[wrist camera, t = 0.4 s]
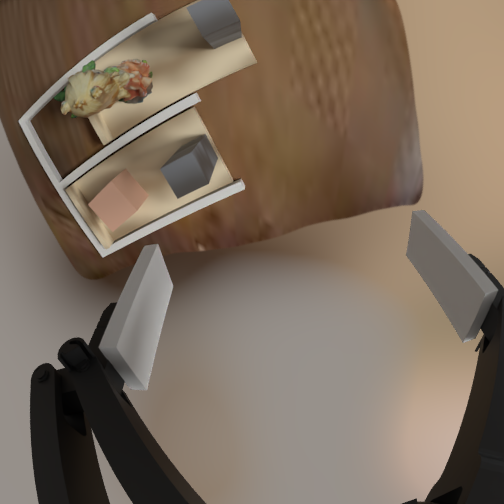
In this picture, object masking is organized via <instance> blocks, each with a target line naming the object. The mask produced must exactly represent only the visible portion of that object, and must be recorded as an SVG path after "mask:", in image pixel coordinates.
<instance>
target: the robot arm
mask: <svg viewBox="0 0 504 504" xmlns="http://www.w3.org/2000/svg"><path fill="white" fill-rule="evenodd" d="M406 256H407V257H408V258H409V260H410V261H411V263H412V264H413V265H414V267H415V268H416V270H417V271H418V272H419V274H420V275H421V277H422V278H423V280H424V281H425V282H426V284H427V286H428V287H429V289H430V290H431V291H432V293H433V295H434V296H435V298H436V299H437V301H438V302H439V304H440V306H441V307H442V309H443V310H444V312H445V313H446V315H447V317H448V318H449V320H450V322H451V323H452V325H453V327H454V328H455V330H456V332H457V333H458V335H459V337H460V338H461V340H462V342H463V343H464V342H467V341H469V340H472V339H475V338H476V336H477V334H478V332H479V330H480V329H481V330H482V331H483V333H484V335H483V337H482V339H481V340H480V342H479V344H478V346H477V348H476V350H475V351H476V352H477V351H478V349H479V348H480V351H479V356H478V361H477V366H476V371H475V376H474V380H473V385H472V389H471V393H470V396H469V400H468V404H467V407H466V411H465V414H464V417H463V421H462V424H461V427H460V430H459V433H458V436H457V439H456V441H455V444H454V447H453V449H452V452H451V455H450V457H449V460H448V462H447V464H446V467H445V469H444V471H443V473H442V475H441V477H440V479H439V480H438V482H437V483H436V484H435V485H434V486H433V488H432V489H431V491H430V492H429V494H428V496H427V498H426V500H425V502H417V499H414V500H411V501H408V502H405V503H402V504H504V288H503V287H502V285H501V284H500V283H499V282H498V280H497V279H496V278H495V277H494V276H493V275H492V273H490V271H489V270H488V269H487V268H485V266H484V264H483V263H482V262H481V261H480V260H479V259H478V258H476V257H475V256H473V255H472V254H467V253H466V252H465V251H464V250H463V248H462V247H461V246H460V245H459V244H458V243H457V242H456V241H455V240H454V239H453V238H452V237H451V236H450V235H449V234H448V233H447V232H446V231H445V230H444V229H443V228H442V227H441V226H440V225H439V224H438V223H437V222H436V221H435V220H434V219H433V218H432V217H431V216H430V215H429V214H428V213H427V212H426V211H425V210H421V211H413V212H412V219H411V227H410V234H409V241H408V248H407V253H406ZM172 289H173V284H172V281H171V279H170V276H169V273H168V271H167V268H166V265H165V263H164V260H163V257H162V254H161V251H160V248H159V245H158V244H154V245H147V246H144V248H143V250H142V252H141V254H140V256H139V258H138V260H137V262H136V264H135V266H134V268H133V270H132V272H131V274H130V276H129V279H128V281H127V283H126V285H125V287H124V289H123V292H122V294H121V296H120V298H119V300H118V302H117V303H110V305H109V306H108V307H107V308H106V309H105V310H104V311H103V314H102V316H101V318H100V321H99V322H98V325H97V328H96V329H95V331H94V334H93V336H92V338H91V340H90V343H89V345H87V344H86V342H85V341H84V340H83V339H82V338H72V339H70V340H68V341H66V342H65V343H64V344H63V345H62V346H61V348H60V349H59V352H58V360H59V361H60V362H61V363H62V364H63V366H64V367H65V368H63V369H60V370H56V369H55V368H54V367H53V366H52V365H51V364H49V363H45V364H42V365H40V366H38V367H37V368H36V369H35V371H34V372H33V374H32V378H31V393H30V427H31V428H30V429H31V447H32V459H33V469H34V477H35V484H36V490H37V496H38V502H39V504H110V502H109V499H108V496H107V493H106V489H105V486H104V482H103V479H102V475H101V472H100V468H99V463H98V459H97V455H96V450H95V445H94V441H93V436H92V430H93V433H94V434H95V437H96V439H97V441H98V443H99V445H100V447H101V449H102V451H103V453H104V455H105V457H106V459H107V460H108V462H109V464H110V466H111V468H112V470H113V472H114V473H115V475H116V477H117V479H118V480H119V482H120V483H121V485H122V487H123V488H124V490H125V492H126V493H127V495H128V497H129V498H130V500H131V501H132V503H133V504H206V503H205V502H204V501H203V500H202V499H201V497H200V496H199V495H198V494H197V493H196V492H195V491H194V489H193V488H192V487H191V486H190V485H189V483H188V482H187V481H186V480H185V479H184V477H183V476H182V475H181V474H180V473H179V471H178V470H177V469H176V467H175V466H174V465H173V463H172V462H171V461H170V459H168V457H167V455H166V454H165V453H164V451H163V450H162V449H161V447H160V446H159V444H158V443H157V442H156V440H155V439H154V437H153V436H152V434H151V433H150V432H149V430H148V428H147V427H146V425H145V424H144V422H143V421H142V419H141V418H140V416H139V415H138V413H137V412H136V410H135V408H134V407H133V405H132V403H131V402H130V400H129V399H128V397H127V395H126V393H125V392H124V391H123V390H122V389H123V386H124V382H125V383H126V384H127V386H128V387H129V388H130V389H131V390H147V388H148V383H149V378H150V374H151V370H152V366H153V362H154V357H155V353H156V349H157V345H158V341H159V337H160V333H161V330H162V326H163V322H164V318H165V314H166V311H167V307H168V303H169V300H170V296H171V292H172ZM91 428H92V430H91Z"/></svg>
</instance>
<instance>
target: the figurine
mask: <svg viewBox="0 0 504 504" xmlns="http://www.w3.org/2000/svg"><path fill="white" fill-rule="evenodd" d="M95 67H96V64H95V61H93V60H92V61H90V62H89V63H88V64H87V65H84V66H83V67H82V71H81V72H77V73H75V75H73V76H72V77H70V78H69V83H68V84H67V86H66V87H64V91H60V93H58V94H57V95H56V96H54V97H53V98H54V99H55V100H57V101H60V102H62V101H63V102H62V104H61V111H62V114H64V115H66V114H67V112H71V113H72V115H71V118H76V117H77V116H78V117H83V118H87V117H90V116H92V115H94V114H97V113H99V112H101V111H102V110H104V109H109V108H111V107H112V106H113V105H114V104H115V103H116V102H117V101H119V102H124V103H127V104H131V103H132V104H137V103H141V102H143V99H144V98H145V97H147V96H148V95H149V94H151V93H152V91H151V90H152V88H153V84H152V75H153V73H152V71H151V72H150V73H149V70H150V66H149V65H148V64H147V61H146V60H142V62H140V60H139V59H131V60H125V61H123V62H122V63H121V64H119V65H118V66H109V67H107V68H106V69H105V70H104V71H101V70H95ZM64 100H65V101H64Z"/></svg>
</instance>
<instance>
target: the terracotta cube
mask: <svg viewBox="0 0 504 504" xmlns="http://www.w3.org/2000/svg"><path fill="white" fill-rule="evenodd" d="M148 196H149V195H148V194H147V193H146V192H145V190H144V189H143V188H142V187H141V186H140V185H139V183H138V182H137V181H136V180H135V179H134V178H133V176H132V175H131V174H130V173H129V172H128V171H127V169H125V170H123V171H122V172H121V173H120V174H119V175H118V176H116V177H115V178H114V179H113V180H112V181H111V182H110V183H109V184H108V185H107V186H106V187H105V188H104V189H103V190H102V191H101V192H100V193H99V194H98V195H97V196H96V197H95V198H94V199H93V200H92V201H91V202H90V203H89V204H88V205H89V207H90V208H91V209H92V210H93V211H94V212H95V213H96V214H97V215H98V217H99V218H100V219H101V220H102V221H103V222H104V223H105V224H106V225H107V226H108V228H109V229H110V230H111V231H112V232H114V231H115V230H116V229H117V228H118V227H119V226H120V225H121V224H123V223H124V222H125V221H126V220H127V219H128V218H130V217H131V216H132V215H133V214H134V213H135V212H137V211H138V209H139V208H140V207H141V205H142V204H143V203H144V201H145V200H146V199H147V197H148Z"/></svg>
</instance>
